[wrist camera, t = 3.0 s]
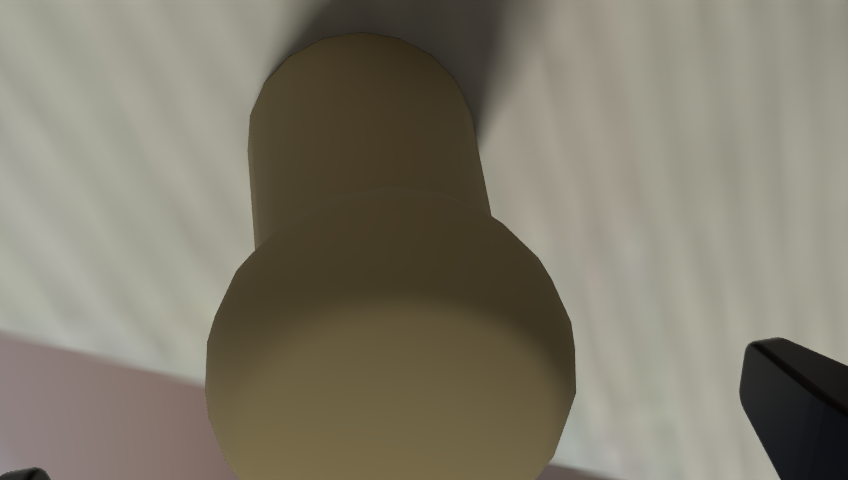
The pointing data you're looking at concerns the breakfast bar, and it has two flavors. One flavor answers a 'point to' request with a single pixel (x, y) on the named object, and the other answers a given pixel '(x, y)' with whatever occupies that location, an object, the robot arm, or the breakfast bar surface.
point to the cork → (382, 288)
